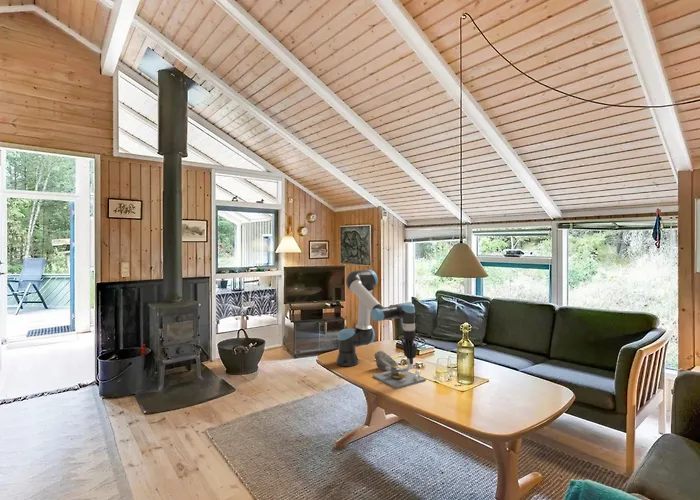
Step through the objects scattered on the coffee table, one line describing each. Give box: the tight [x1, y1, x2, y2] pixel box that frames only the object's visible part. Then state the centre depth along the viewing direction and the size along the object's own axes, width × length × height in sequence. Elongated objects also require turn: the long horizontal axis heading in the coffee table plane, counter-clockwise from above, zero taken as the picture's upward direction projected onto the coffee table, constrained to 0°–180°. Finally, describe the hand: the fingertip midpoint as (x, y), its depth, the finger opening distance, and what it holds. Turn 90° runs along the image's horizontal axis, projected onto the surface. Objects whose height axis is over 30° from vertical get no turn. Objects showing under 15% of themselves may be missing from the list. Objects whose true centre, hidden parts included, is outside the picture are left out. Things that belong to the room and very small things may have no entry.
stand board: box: [372, 367, 427, 390], centre depth 237 cm, size 24×22×6 cm
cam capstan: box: [381, 366, 410, 379], centre depth 237 cm, size 19×19×6 cm
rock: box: [374, 350, 399, 372], centre depth 256 cm, size 12×8×15 cm, turn 34°
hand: (410, 368), depth 234 cm, fingers closed
